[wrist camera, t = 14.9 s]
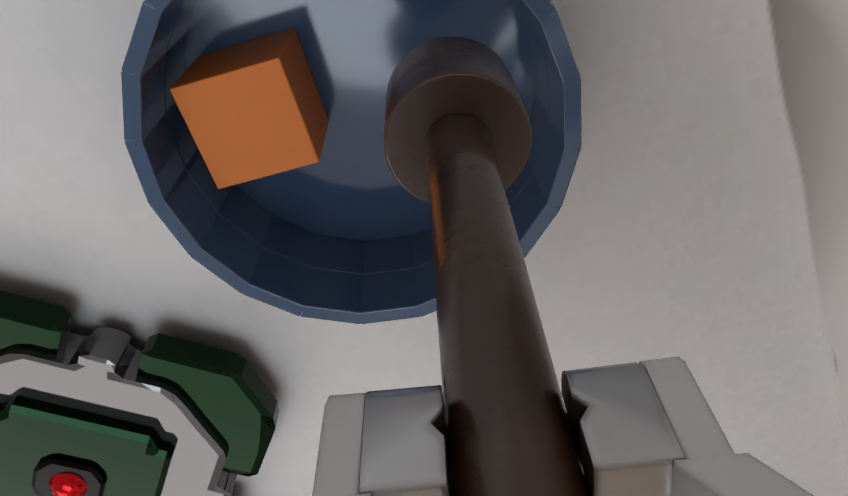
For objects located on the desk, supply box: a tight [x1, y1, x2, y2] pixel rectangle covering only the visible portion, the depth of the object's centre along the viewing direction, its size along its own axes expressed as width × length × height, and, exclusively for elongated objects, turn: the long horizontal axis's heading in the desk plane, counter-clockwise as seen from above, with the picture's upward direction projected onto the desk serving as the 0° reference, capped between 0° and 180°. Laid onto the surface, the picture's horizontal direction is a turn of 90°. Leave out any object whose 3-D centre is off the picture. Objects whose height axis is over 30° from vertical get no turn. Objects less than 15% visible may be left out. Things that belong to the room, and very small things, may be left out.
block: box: [170, 28, 329, 189], centre depth 26 cm, size 4×4×4 cm
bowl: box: [121, 0, 581, 324], centre depth 25 cm, size 15×15×6 cm
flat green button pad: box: [0, 290, 279, 496], centre depth 36 cm, size 18×18×5 cm
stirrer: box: [384, 36, 589, 496], centre depth 13 cm, size 4×4×15 cm
